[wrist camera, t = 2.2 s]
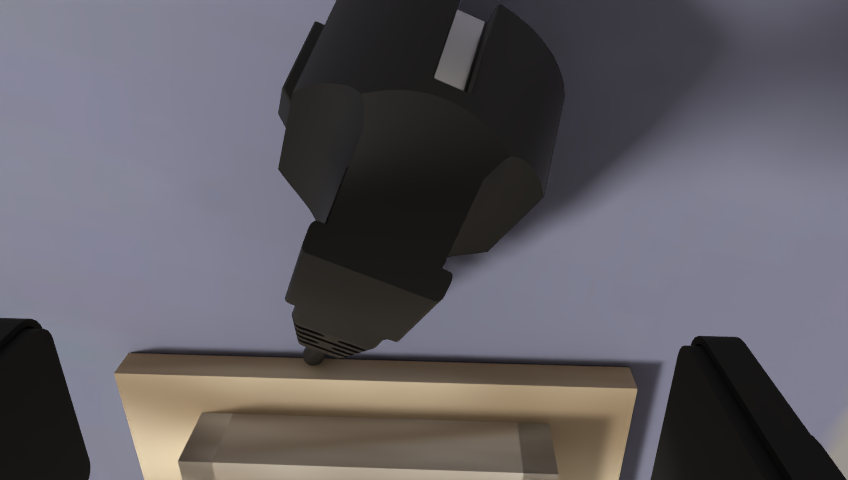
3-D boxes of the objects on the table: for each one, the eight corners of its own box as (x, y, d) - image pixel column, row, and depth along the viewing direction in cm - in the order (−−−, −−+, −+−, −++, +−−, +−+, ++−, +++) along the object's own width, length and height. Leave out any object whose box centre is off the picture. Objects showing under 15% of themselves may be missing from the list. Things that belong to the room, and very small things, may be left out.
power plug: (216, 349, 19) (220, 144, 9) (302, 153, 23) (379, -162, 12) (388, 409, 20) (583, 287, 10) (446, 211, 24) (635, -37, 13)
